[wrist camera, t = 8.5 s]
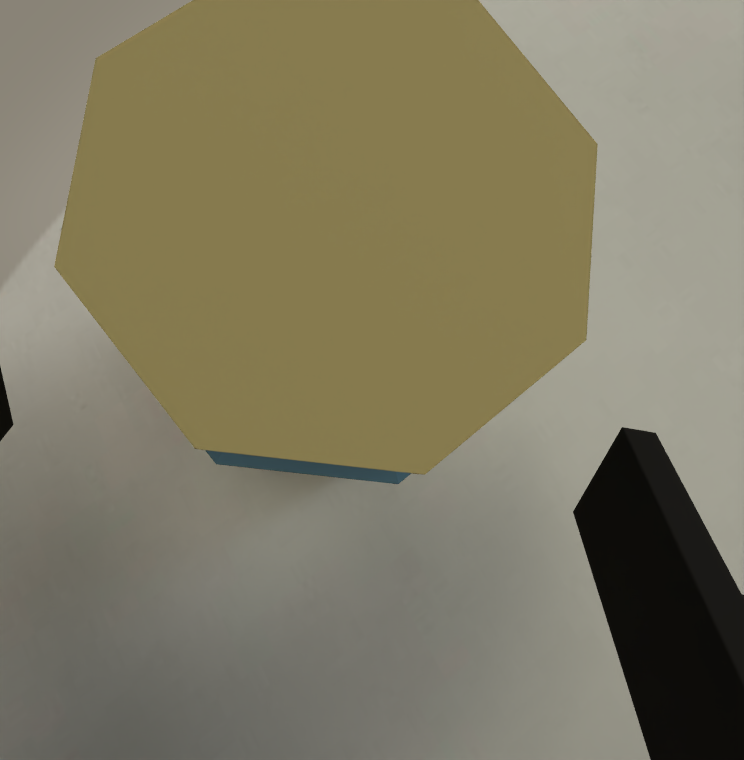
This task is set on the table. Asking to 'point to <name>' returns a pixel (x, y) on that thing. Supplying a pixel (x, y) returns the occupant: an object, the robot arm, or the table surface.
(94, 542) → the table surface
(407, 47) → the jar
